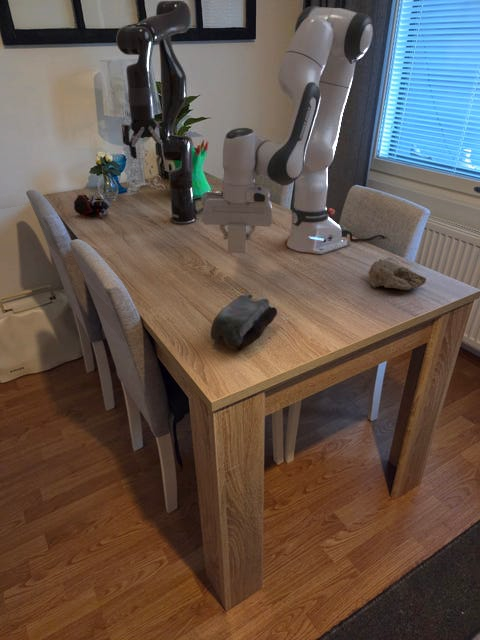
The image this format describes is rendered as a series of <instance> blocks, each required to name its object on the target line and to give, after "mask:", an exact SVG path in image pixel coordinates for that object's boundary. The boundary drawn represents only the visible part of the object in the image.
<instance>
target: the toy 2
mask: <svg viewBox="0 0 480 640" xmlns="http://www.w3.org/2000/svg"><path fill="white" fill-rule="evenodd" d="M190 139H191V142H192V181H193V196H194V197H195V200H196V199H201V197H202V195H203V194H204V193H206V192H207V191H212V188H211V186H210V184H209V182H208V180H207V177H206V175H205V172H204V169H203V166H204V163H205V159H206V157H207V153H208V147H209V141H206V143H205V141H204V139H202V142H201V143H200V144H198V145H197V147H196V149H195V146H194V142H193V141H194V140H193V138H192V137H190ZM172 163H173V165H174V169H176V168H179V167H181V161H172ZM168 192H169V194H170V188H169V189H168ZM205 195H207V194H205Z"/></svg>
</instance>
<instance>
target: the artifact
mask: <svg viewBox="0 0 480 640" xmlns="http://www.w3.org/2000/svg"><path fill="white" fill-rule="evenodd" d="M368 276H369V279H368V280H369V284H370V285H371V286H372V288H374V289H376V288H379V287H384V288H386V289H387V288H388V289H393V288H394V289H398V290H404V291H405V290H406V291H409V290H411V289H413V288H415V289H416V288H417V289H418V288H419V287H421V286H423V285H425V283H426V282H427V278H426V277H425V276H423V275H420V274H418V273H416V272H414V271H413V270H411V269H409V268H408V267H405V266H403V265H401V263H400V262H398V261H397V260H396V259H394V258H393V257H388V258H385V259H379V260H378V261H374V262H373V263H372V264H371V266H370V268H369V271H368Z"/></svg>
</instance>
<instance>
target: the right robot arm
mask: <svg viewBox="0 0 480 640" xmlns="http://www.w3.org/2000/svg"><path fill="white" fill-rule="evenodd" d="M373 36H374V24H373V20H372V18H371V17H370V16H369V15H367V14H365V13H363V12H355V11H353V10H349V9H346V8H341V7H325V6H324V7H320V6H318V5H312V6H307V7H306V8H304V9H303V11H301V12H300V14H299V15H298V17H297V19H296V22H295V26H294V34H293V36H292V38H291V40H290V42H289V44H288V46H287V47H286V48H287V49H286V50H285V53H284V55H283V57H282V60H281V63H280V65H279V68H278V74H277V79H278V84H279V87H280V89H281V91H282V93H284V94H285V96H287V97H288V98H289V99H290V100H291V101H292V102H293V106H294V111H293V115H292V119H291V121H290V125H289V128H288V132H287V135H286V139H285V140H284V141H283V142H282V143H280V142H276V141H273V140H270V139H267V138H264V137H262V136H260V135H258V134H257V133H256V132H255V131H254V129H252V128H249V127H240V128H239V127H237V128H234V129H231V130H229V131H228V132H227V133H226V134H225V136H224V140H223V146H222V169H223V175H222V176H223V177H222V190H221V191H220V190H219V191H218V190H217V191H212V190H211V191H207V192H206V193H204V194H203V195H202V197H201V198H200V201H201V205H202V208H203V207H204V208H203V211H202V222H203V224H205V225H211V226H212V225H213V226H219V229H220V231H221V233H222V234H223V240H228V231H227V230H226V229H225V228H226V226H228V224H246V226H247V227H249V229H250V230H249V231H248V232H247V233H246V241H251V240H252V235H253V233H254V232H255V230H256V227H265V228H266V227H269V228H270V227H271V226H272V225H273V223H274V212H273V204H272V200H270V199H271V198H270V197H271V193H270V190H269V189H268V188H266V187H263V186H261V185H258V184H257V185H255V181H256V180H255V179H256V178H255V177H256V176H259V177H262V178H264V179H267V180H270V181H272V182H274V183H276V184H278V185H280V186H288V185H291V184H293V183H294V195H293V206H292V209H291V226H290V231H289V235H288V239H287V241H286V246H287V247H288V248H289V249H291V250H293V251H296V252H301V253H310V254H315V255H322V254H326V253H329V252H331V251H334V250H337V249H341V248H344V247H347V246H348V241H347V239H346V238H347V237H348V235H349V240H350V241H351V242H360V241H361V242H362V241H363V242H364V241H366V242H367V241H371V240H374V239H376V238H378V237H380V238H382V239H386V237H385V236H384V235H383V234H382V233H377V234H376V235H372V236H370V237H363V238H361V237H359V238H353V233H352V232H351V231H350V230H348V229H347V228H346V227H345V226H344V225H339V224H338V223H337V222H335V221H334V220H333V219H332V218H330V216H333V215H335V213H336V210H335V209H333V208H332V207H327V205H326V204H327V196H328V187H329V183H328V180H329V179H328V171H329V169H328V168H329V167H330V166H331V165H332V163H333V161H334V157H335V152H336V149H337V148H336V147H337V144H338V138H339V133H340V129H341V123H342V118H343V113H344V110H345V107H346V104H347V100H348V96H349V93H350V90H351V86H352V82H353V79H354V75H355V74H354V73H355V68H356V62H358V60H359V59H361V58H362V57H364V55H365V54H366V53H367V52H368V50H369V48H370V46H371V44H372V40H373ZM205 194H207V195H205ZM329 215H330V216H329Z"/></svg>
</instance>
